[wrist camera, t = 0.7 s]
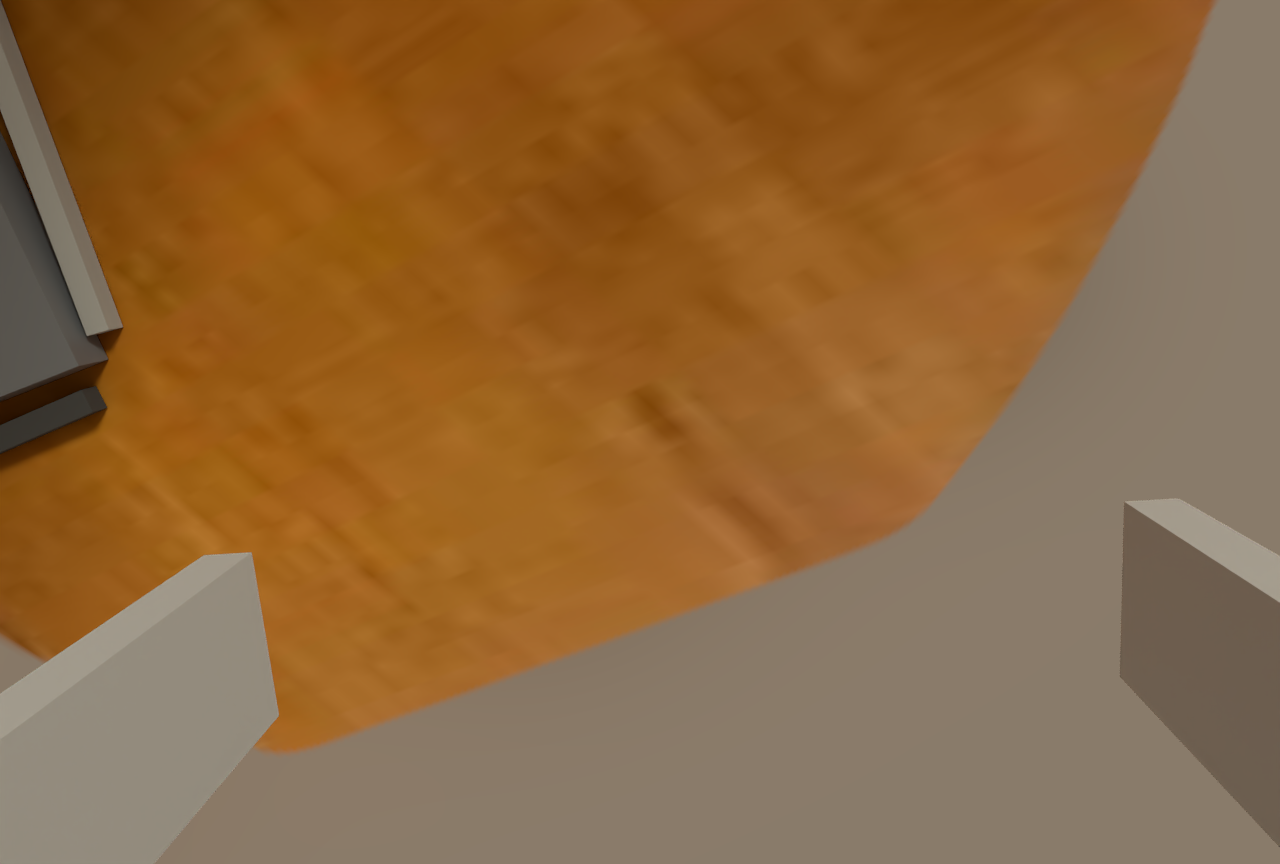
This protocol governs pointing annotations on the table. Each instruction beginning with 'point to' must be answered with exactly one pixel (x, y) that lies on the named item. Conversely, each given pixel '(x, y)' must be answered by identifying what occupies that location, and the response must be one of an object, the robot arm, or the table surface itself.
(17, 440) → the bar
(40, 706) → the robot arm
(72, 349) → the grey flat rectangular block
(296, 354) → the table surface
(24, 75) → the bar
